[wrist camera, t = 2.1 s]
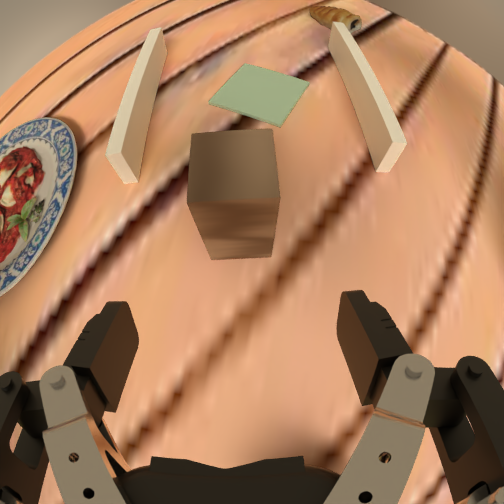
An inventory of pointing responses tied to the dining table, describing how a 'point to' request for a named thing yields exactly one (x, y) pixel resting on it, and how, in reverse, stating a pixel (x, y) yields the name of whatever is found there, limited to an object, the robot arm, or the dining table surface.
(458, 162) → the dining table surface
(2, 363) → the dining table surface
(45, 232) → the ceramic plate
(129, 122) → the arena
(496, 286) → the dining table surface
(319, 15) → the pastry
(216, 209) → the walnut block
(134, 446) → the dining table surface
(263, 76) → the pad
